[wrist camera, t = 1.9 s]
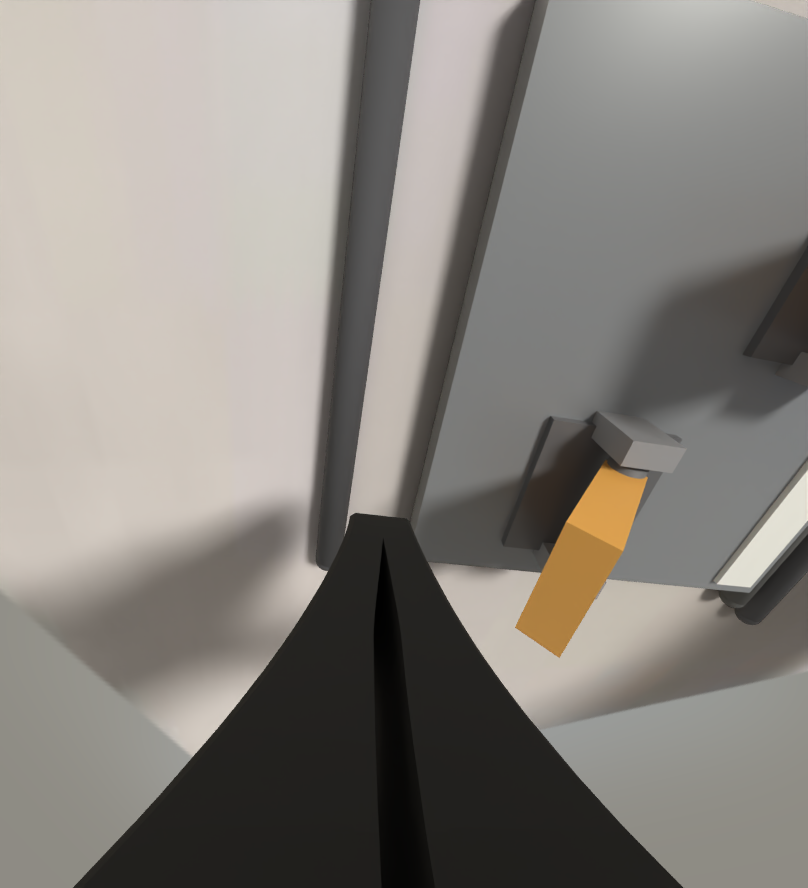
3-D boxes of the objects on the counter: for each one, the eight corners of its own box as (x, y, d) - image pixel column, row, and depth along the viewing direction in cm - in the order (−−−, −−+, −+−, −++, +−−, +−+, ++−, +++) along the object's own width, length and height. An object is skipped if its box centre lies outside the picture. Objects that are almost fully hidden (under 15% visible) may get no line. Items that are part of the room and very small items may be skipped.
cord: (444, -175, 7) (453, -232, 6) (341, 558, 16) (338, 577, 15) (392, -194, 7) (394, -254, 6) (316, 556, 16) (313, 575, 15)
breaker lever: (653, 465, 12) (627, 544, 8) (598, 562, 13) (556, 662, 10) (611, 449, 12) (569, 514, 8) (564, 543, 14) (512, 632, 10)
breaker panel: (1070, 141, 10) (1331, 105, 7) (727, 571, 18) (793, 635, 15) (541, -24, 8) (622, -156, 5) (406, 537, 16) (411, 603, 13)
